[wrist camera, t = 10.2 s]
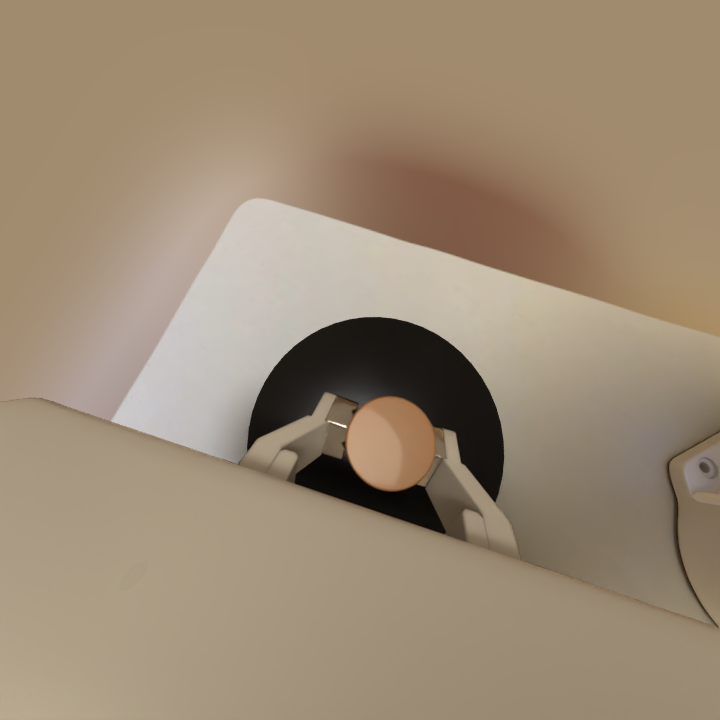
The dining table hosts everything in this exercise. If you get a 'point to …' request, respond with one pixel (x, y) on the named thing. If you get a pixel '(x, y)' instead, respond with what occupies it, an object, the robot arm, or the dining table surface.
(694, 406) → the dining table surface
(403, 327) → the lid
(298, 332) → the dining table surface
